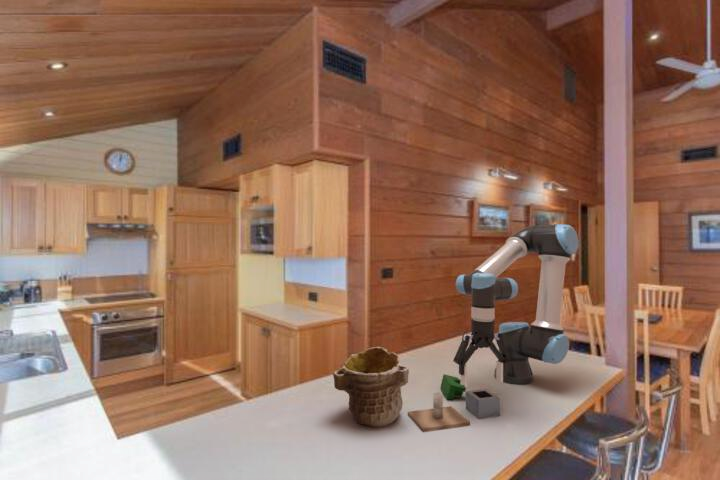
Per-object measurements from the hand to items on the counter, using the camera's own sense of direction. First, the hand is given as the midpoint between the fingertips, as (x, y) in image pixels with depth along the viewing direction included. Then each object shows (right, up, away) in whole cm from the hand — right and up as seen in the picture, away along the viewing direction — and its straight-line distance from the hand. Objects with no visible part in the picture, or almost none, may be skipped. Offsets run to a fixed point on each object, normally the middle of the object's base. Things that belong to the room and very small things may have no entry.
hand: (481, 382), depth 132 cm
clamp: (-6, -10, +15) cm, 19 cm away
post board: (-16, -10, -5) cm, 19 cm away
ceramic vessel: (-38, -10, -4) cm, 39 cm away
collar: (0, -10, 0) cm, 10 cm away
